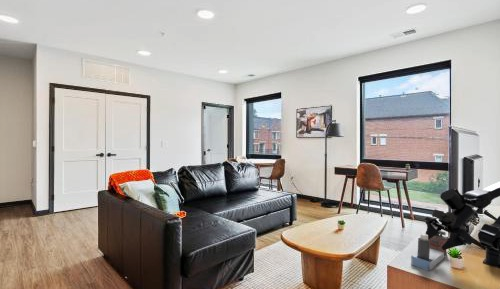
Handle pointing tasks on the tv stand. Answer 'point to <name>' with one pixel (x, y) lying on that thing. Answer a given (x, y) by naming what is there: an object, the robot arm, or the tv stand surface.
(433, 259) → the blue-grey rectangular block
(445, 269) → the tv stand surface
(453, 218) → the robot arm
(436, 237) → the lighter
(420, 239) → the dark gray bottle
